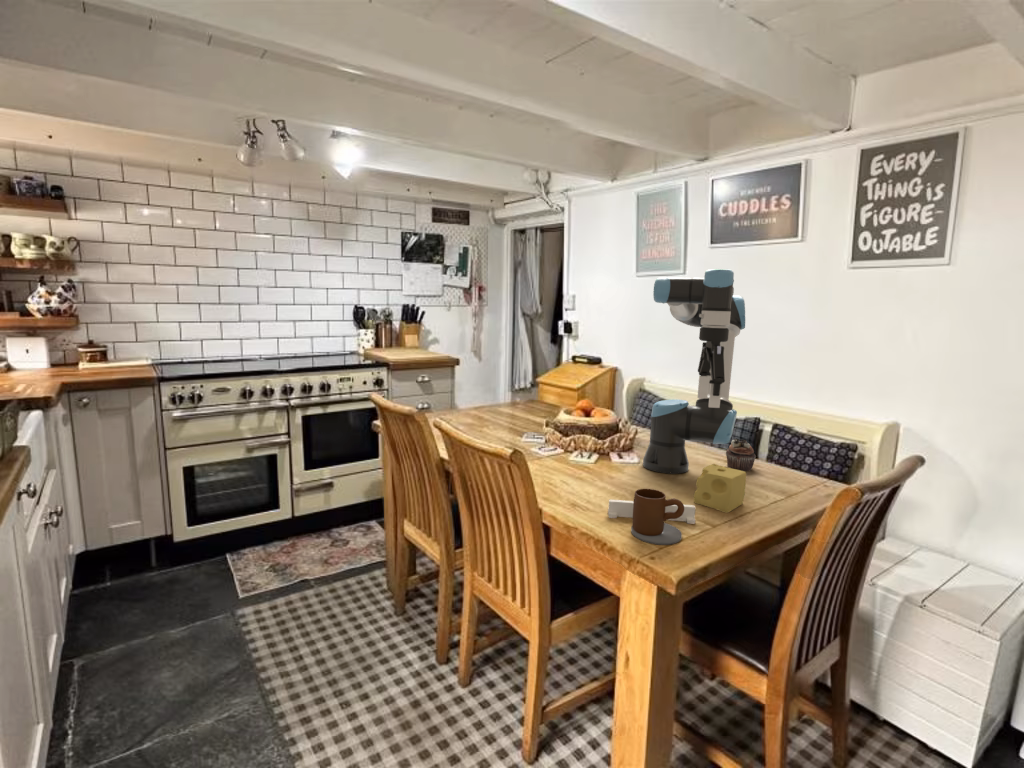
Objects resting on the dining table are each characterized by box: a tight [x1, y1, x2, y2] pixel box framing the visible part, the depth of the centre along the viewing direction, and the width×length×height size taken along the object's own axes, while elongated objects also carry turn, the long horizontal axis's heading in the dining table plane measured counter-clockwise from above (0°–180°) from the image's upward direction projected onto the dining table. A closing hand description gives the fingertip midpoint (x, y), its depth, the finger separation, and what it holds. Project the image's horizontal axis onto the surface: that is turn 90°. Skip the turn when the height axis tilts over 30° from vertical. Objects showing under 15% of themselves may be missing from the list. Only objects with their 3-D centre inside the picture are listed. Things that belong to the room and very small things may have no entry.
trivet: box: [630, 522, 683, 546], centre depth 134 cm, size 12×12×1 cm
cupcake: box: [725, 437, 757, 472], centre depth 189 cm, size 10×10×10 cm
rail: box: [607, 499, 696, 525], centre depth 143 cm, size 4×22×4 cm, turn 83°
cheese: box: [693, 463, 747, 514], centre depth 154 cm, size 10×11×10 cm
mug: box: [631, 488, 685, 536], centre depth 132 cm, size 12×8×9 cm, turn 65°
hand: (707, 402), depth 153 cm, fingers open, 13 cm apart
